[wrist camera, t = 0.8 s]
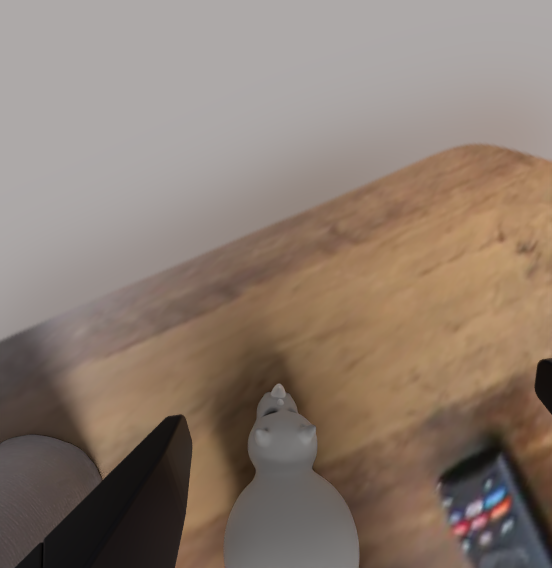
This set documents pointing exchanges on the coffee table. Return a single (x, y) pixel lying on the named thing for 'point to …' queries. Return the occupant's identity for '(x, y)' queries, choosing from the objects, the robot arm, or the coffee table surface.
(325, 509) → the chubby cartoon animal
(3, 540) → the pillar candle
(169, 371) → the coffee table surface
